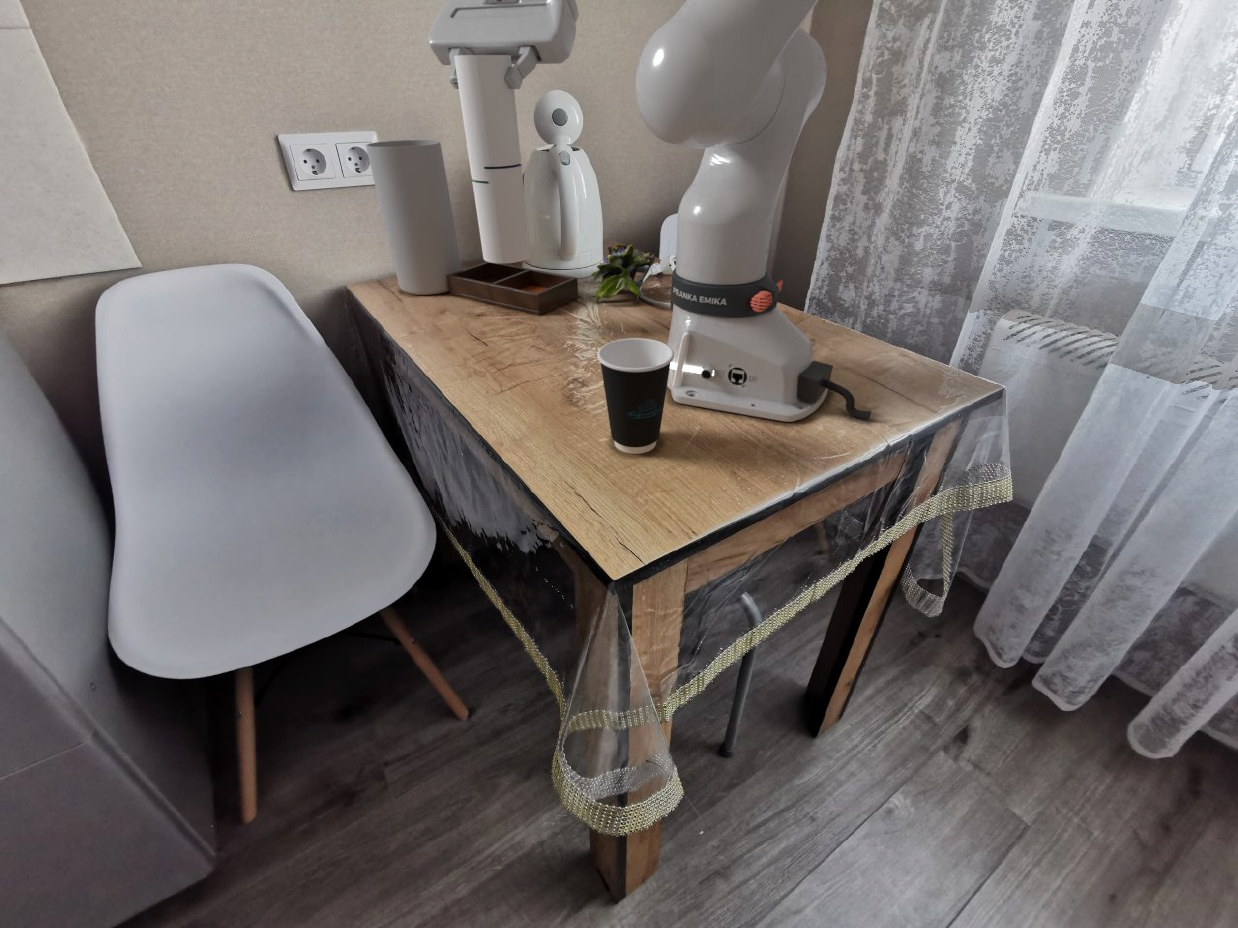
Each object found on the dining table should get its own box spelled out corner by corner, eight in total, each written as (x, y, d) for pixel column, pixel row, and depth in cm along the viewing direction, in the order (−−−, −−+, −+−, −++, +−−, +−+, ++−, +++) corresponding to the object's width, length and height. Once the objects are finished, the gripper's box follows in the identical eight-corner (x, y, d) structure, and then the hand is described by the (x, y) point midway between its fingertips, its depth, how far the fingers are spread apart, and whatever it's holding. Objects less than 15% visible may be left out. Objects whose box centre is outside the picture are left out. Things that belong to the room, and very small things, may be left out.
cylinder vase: (390, 285, 113) (355, 143, 99) (447, 273, 119) (422, 138, 105) (415, 300, 105) (381, 149, 91) (475, 286, 111) (452, 143, 97)
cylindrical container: (526, 263, 83) (505, 54, 68) (478, 263, 83) (447, 55, 68) (533, 250, 89) (515, 56, 74) (488, 251, 89) (461, 56, 74)
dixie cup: (646, 470, 59) (648, 376, 53) (586, 448, 63) (581, 357, 57) (682, 436, 65) (688, 347, 58) (625, 418, 68) (624, 332, 62)
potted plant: (618, 318, 111) (640, 260, 110) (652, 324, 103) (676, 261, 102) (573, 294, 104) (596, 232, 103) (606, 298, 96) (631, 231, 95)
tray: (578, 296, 106) (577, 277, 104) (539, 315, 98) (537, 295, 96) (491, 278, 116) (489, 261, 114) (449, 294, 108) (446, 275, 106)
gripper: (436, -25, 75) (404, 65, 73) (573, -35, 68) (542, 63, 67) (461, 20, 81) (432, 104, 79) (590, 14, 74) (561, 105, 73)
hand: (483, 85), depth 73 cm, fingers closed on cylindrical container, 7 cm apart
